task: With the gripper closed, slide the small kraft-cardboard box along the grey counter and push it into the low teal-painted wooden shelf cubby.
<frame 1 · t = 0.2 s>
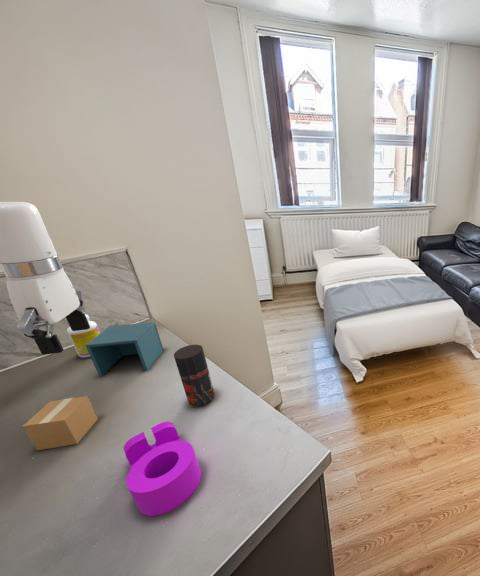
hand: (68, 340, 63), 21 cm above the kitchen counter, tool pointing down, fingers open, 9 cm apart
shelf: (133, 362, 89), on the kitchen counter
deodorant: (202, 399, 75), on the kitchen counter
magenta ring bracket: (166, 476, 56), on the kitchen counter
box: (69, 433, 65), on the kitchen counter
supplement bottle: (93, 352, 93), on the kitchen counter
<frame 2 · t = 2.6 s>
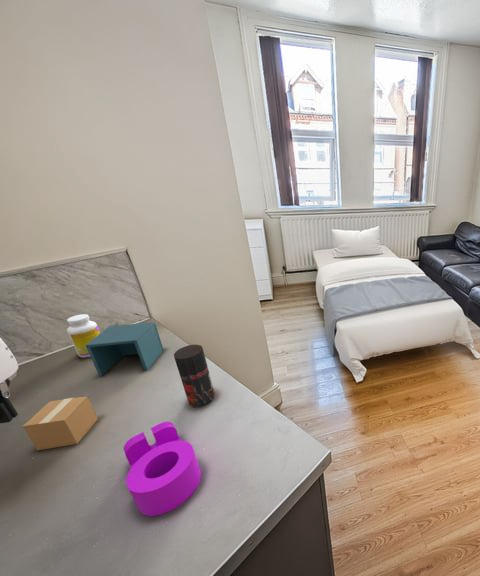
hand: (3, 420, 51), 14 cm above the kitchen counter, tool pointing down, fingers closed
nothing on the kitchen counter moved.
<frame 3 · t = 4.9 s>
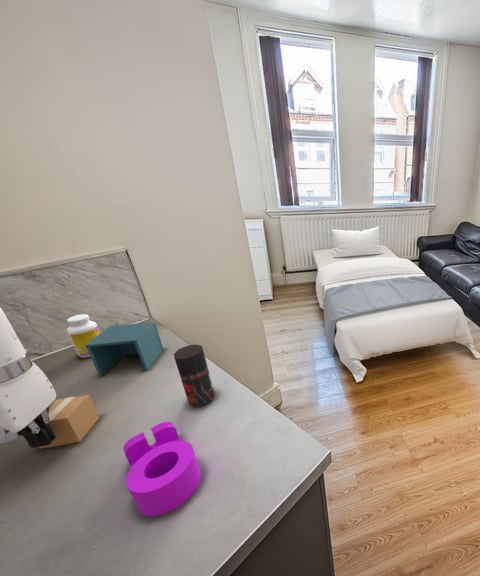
hand: (44, 442, 58), 4 cm above the kitchen counter, tool pointing down, fingers closed
box: (71, 432, 65), on the kitchen counter, touching gripper
everything else where it was.
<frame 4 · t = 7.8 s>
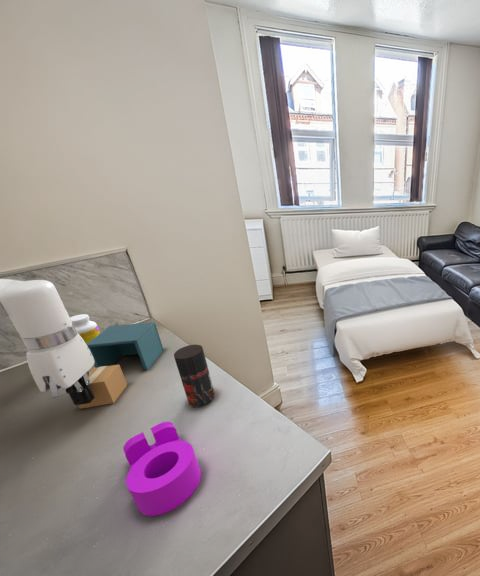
hand: (85, 401, 69), 4 cm above the kitchen counter, tool pointing down, fingers closed
box: (105, 396, 75), on the kitchen counter, touching gripper
everything else where it was.
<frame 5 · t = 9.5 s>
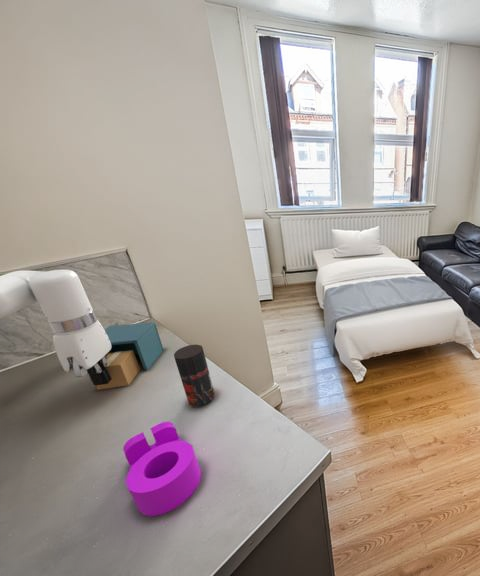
hand: (103, 382, 75), 4 cm above the kitchen counter, tool pointing down, fingers closed
box: (120, 379, 82), on the kitchen counter, touching gripper
everything else where it was.
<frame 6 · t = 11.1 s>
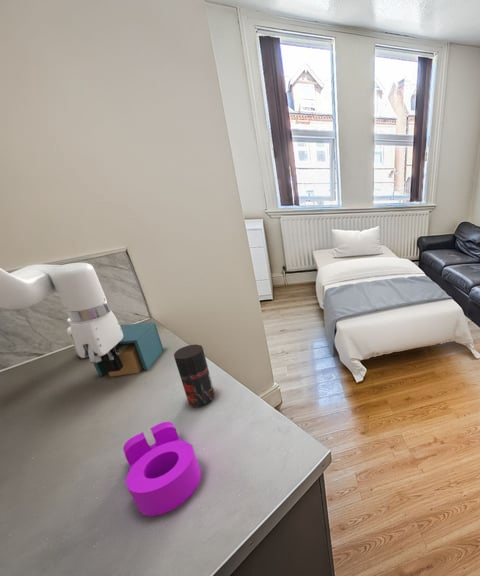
hand: (115, 369, 80), 4 cm above the kitchen counter, tool pointing down, fingers closed
box: (130, 367, 87), on the kitchen counter, touching gripper
everything else where it was.
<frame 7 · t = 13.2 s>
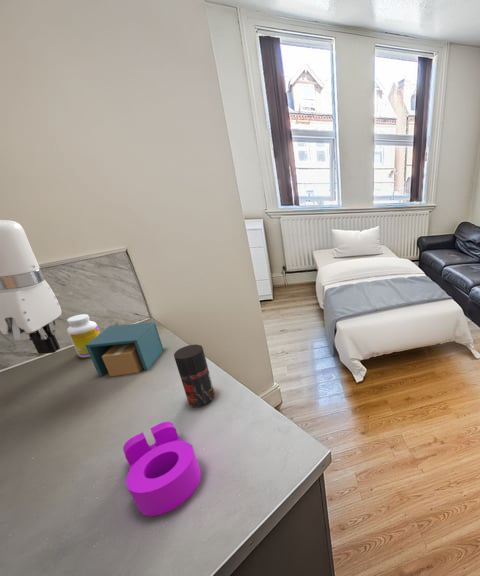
hand: (49, 351, 68), 15 cm above the kitchen counter, tool pointing down, fingers closed
box: (130, 367, 87), on the kitchen counter
everything else where it was.
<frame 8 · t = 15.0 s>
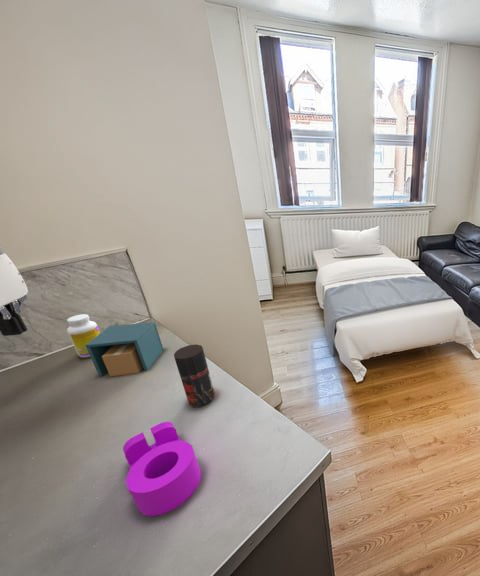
hand: (15, 333, 63), 22 cm above the kitchen counter, tool pointing down, fingers closed
nothing on the kitchen counter moved.
at the end: box 2.7 cm off-centre on the shelf, point 0.0 cm above the shelf's base; box tilted 0° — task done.
